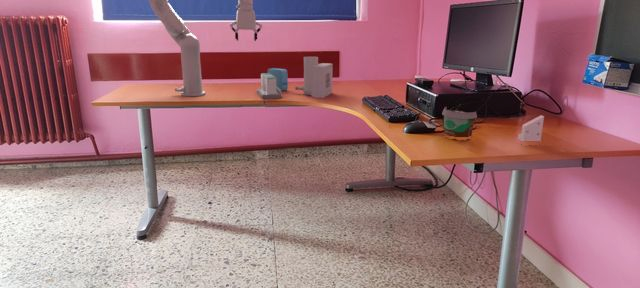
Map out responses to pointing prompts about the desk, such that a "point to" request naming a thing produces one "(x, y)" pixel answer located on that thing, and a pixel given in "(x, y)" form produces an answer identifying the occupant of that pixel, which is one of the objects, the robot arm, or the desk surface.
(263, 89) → the block
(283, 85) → the data package
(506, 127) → the desk surface
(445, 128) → the food container
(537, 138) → the white angled block
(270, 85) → the rail
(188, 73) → the robot arm
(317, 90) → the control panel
